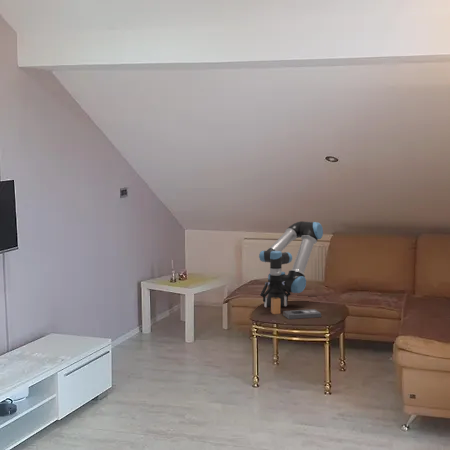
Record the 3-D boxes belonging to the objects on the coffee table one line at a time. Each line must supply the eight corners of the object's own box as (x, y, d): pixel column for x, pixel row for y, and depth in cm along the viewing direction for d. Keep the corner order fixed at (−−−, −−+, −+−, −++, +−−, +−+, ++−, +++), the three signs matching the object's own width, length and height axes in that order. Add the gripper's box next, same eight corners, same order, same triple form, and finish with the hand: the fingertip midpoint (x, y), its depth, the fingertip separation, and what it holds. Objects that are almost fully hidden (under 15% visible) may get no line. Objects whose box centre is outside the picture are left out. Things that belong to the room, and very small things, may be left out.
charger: (270, 312, 456) (271, 297, 455) (278, 312, 458) (278, 296, 457) (273, 314, 452) (273, 298, 451) (280, 313, 453) (280, 298, 452)
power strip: (282, 314, 449) (282, 310, 449) (314, 312, 454) (314, 309, 454) (288, 319, 438) (288, 315, 438) (321, 317, 443) (321, 313, 442)
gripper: (259, 276, 446) (258, 308, 447) (295, 274, 451) (295, 306, 453) (255, 274, 453) (255, 306, 455) (292, 273, 458) (291, 304, 460)
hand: (275, 306), depth 454 cm, fingers open, 13 cm apart
